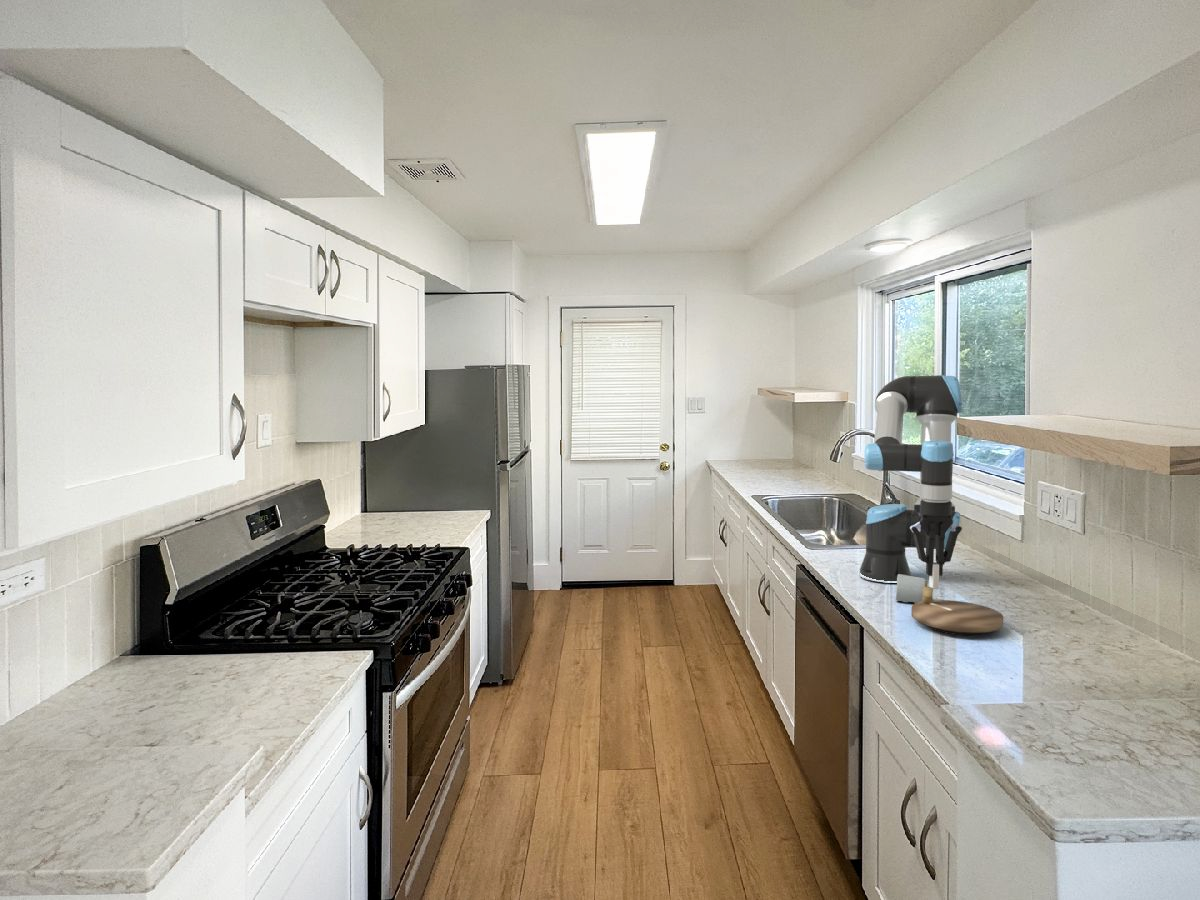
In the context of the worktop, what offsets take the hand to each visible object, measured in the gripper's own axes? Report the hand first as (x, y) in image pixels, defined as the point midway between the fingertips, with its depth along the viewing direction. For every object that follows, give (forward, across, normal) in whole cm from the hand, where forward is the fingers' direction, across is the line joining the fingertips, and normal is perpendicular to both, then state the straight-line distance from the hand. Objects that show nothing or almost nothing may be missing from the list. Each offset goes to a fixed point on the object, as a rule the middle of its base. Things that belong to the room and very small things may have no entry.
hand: (933, 587), depth 197 cm
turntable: (+5, -2, +9) cm, 11 cm away
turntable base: (+7, -2, +9) cm, 12 cm away
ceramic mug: (+8, +2, -13) cm, 15 cm away
